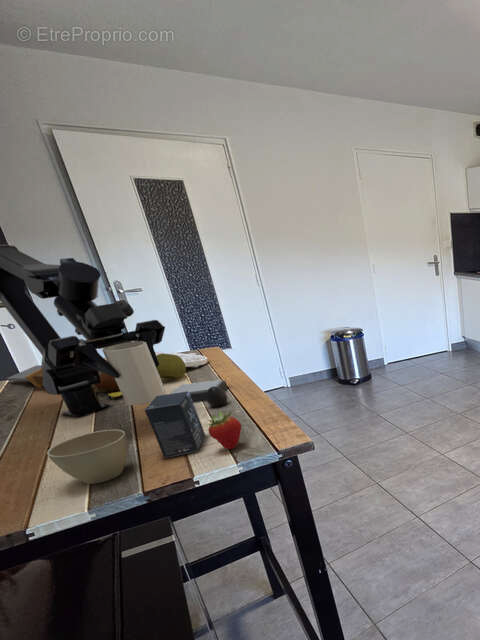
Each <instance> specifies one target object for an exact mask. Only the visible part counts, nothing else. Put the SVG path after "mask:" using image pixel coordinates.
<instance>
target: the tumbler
mask: <svg viewBox="0 0 480 640" xmlns="http://www.w3.org/2000/svg"><path fill="white" fill-rule="evenodd" d="M101 351H102V353H103V355H104V358H106V360H107V362H108V363H109V364H110V365H111V366H112V367H113V368H114V369H115V370H116V371H117V372H118V373H119V375H120V376H119V378H115V380H116V382H117V384H118V386H119V389H120V391H121V393H122V395H123V397H122V398H123V400H124V401H125V404H126V405H127V406H141V405H146V404H147V405H148V404H150V403H151V402H152V401H153V400H154V399H155V397H156V396H161V395H167V394H168V393H167V391H166V388H165V385H164V384H163V379H161V378H160V376H159V373H158V371H157V368H156V366H155V363H154V361H153V358H152V356H151V353H150V351H149V348H148V346H147V343H146V342H143V341H139V342H134V341H133V342H128V343H121V344H116V345H112V346H109V347H106V348H102V350H101ZM120 391H119V392H120Z"/></svg>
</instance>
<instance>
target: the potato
mask: <svg viewBox="0 0 480 640" xmlns="http://www.w3.org/2000/svg"><path fill="white" fill-rule="evenodd" d="M99 376H100V381H101V383H99V384H94V386H95V387H97V388H99V389H103V390H110V391H109V392H111V391H112V392H113V391H115V392H120V389H119V386H118V384H117V382H116V380H115V377H112V376H109V375H107V374H104V373H101V374H100V375H99Z"/></svg>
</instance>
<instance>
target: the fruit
mask: <svg viewBox="0 0 480 640" xmlns="http://www.w3.org/2000/svg"><path fill="white" fill-rule="evenodd" d="M223 413H224V414H223ZM231 415H232V412H230V413H227V414H226V412H225V411H221V410H219V411H218V417H217V416H216V415H215V414H213V413H211V415H210V416H211V417H210V418H211V419H207V421H209V422H210V423H208V424H207V426H209V428H208V434H209V435H210V437H211V438H213V439H215V440H216V441H217V442H218V443H219V444H220V445H221V446H222V447H223V448H224V449H226V450H232V449H234V448H236V447H237V445H238V444H239V441H240V437H241V431H242V424H241V422H240V421H239V420H238V419H237V418H235V417H233V416H231Z"/></svg>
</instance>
